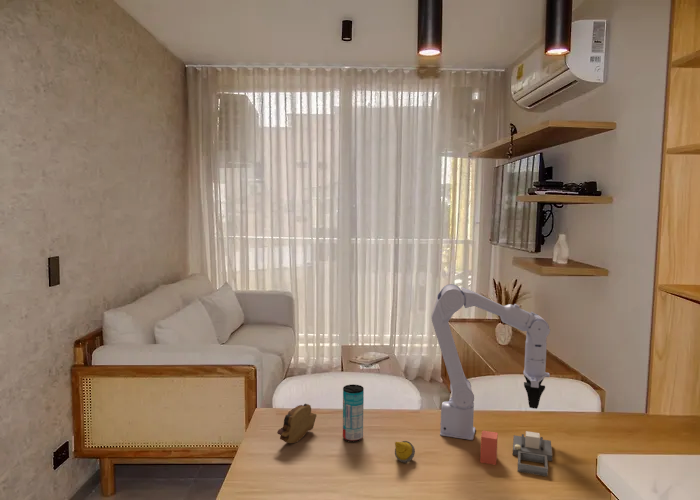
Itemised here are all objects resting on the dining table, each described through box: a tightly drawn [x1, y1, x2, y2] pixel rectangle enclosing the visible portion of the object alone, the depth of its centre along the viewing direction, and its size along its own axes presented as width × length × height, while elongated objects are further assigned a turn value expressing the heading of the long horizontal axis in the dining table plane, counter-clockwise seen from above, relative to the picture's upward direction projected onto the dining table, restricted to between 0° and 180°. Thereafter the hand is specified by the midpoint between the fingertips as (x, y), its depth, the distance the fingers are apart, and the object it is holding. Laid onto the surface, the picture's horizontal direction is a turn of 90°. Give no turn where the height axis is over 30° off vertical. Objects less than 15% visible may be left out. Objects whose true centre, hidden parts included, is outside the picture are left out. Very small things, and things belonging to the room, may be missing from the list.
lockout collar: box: [517, 451, 549, 477], centre depth 134 cm, size 7×7×2 cm
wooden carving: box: [277, 403, 317, 444], centre depth 148 cm, size 16×5×10 cm, turn 155°
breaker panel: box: [512, 433, 553, 462], centre depth 143 cm, size 10×9×2 cm
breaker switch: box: [525, 430, 541, 449], centre depth 142 cm, size 4×3×3 cm
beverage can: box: [342, 384, 365, 443], centre depth 148 cm, size 6×6×15 cm
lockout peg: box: [479, 430, 499, 466], centre depth 137 cm, size 4×4×7 cm
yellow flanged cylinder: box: [394, 440, 416, 463], centre depth 136 cm, size 5×5×10 cm
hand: (533, 403), depth 149 cm, fingers open, 6 cm apart
